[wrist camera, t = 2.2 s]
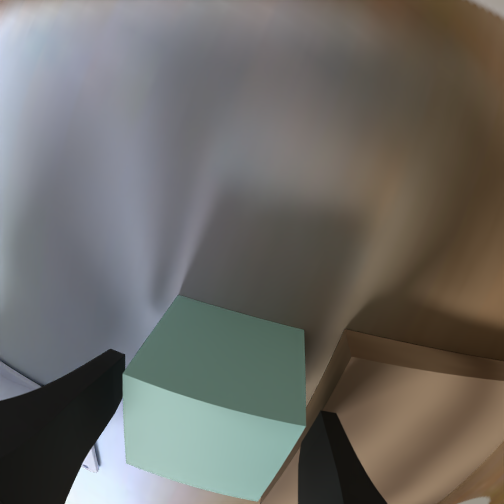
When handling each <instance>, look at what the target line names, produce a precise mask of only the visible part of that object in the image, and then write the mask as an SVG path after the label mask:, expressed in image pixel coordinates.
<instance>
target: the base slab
mask: <svg viewBox="0 0 504 504" xmlns="http://www.w3.org/2000/svg"><path fill="white" fill-rule="evenodd" d="M320 410H322V411H327V412H333V413H337V415H338V417H339V419H340V422H341V424H342V426H343V428H344V430H345V432H346V435H347V437H348V439H349V441H350V443H351V445H352V447H353V449H354V451H355V453H356V455H357V457H358V458H359V460H360V462H361V464H362V466H363V468H364V469H365V471H366V473H367V474H368V476H369V478H370V479H371V481H372V483H373V484H374V486H375V487H376V489H377V490H378V491H379V493H380V494H381V495H382V497H383V498H384V499H385V501H386V502H387V503H388V504H438V503H439V502H440V501H442V500H443V499H444V498H445V497H446V496H448V495H449V494H450V493H451V492H452V491H453V490H455V489H456V488H457V487H458V486H459V485H460V484H461V483H462V482H463V481H465V480H466V479H467V478H468V477H469V476H470V475H471V474H472V473H473V472H474V471H475V470H476V469H477V468H478V467H479V466H480V465H481V464H482V463H483V462H484V461H485V460H486V459H487V458H488V457H489V456H490V455H491V454H492V453H493V452H494V451H495V450H496V449H497V448H498V446H499V445H500V444H501V443H502V442H503V441H504V361H499V360H493V359H487V358H482V357H476V356H471V355H465V354H460V353H454V352H449V351H444V350H439V349H434V348H429V347H424V346H419V345H414V344H410V343H405V342H400V341H396V340H391V339H386V338H382V337H377V336H373V335H369V334H364V333H360V332H356V331H351V330H347V329H345V330H344V332H343V334H342V337H341V339H340V341H339V343H338V345H337V348H336V350H335V352H334V354H333V356H332V358H331V360H330V362H329V364H328V366H327V368H326V371H325V373H324V375H323V377H322V379H321V381H320V383H319V385H318V387H317V388H316V390H315V392H314V394H313V396H312V398H311V400H310V402H309V404H308V406H307V408H306V427H305V429H304V431H303V432H302V434H301V436H300V437H299V439H298V441H297V442H296V444H295V445H294V447H293V449H292V450H291V452H290V454H289V455H288V457H287V458H286V460H285V461H284V463H283V465H282V466H281V468H280V469H279V471H278V472H277V474H276V475H275V477H274V478H273V480H272V481H271V483H270V484H269V486H268V487H267V489H266V490H265V492H264V493H263V494H262V496H261V501H260V504H298V463H299V455H300V447H301V442H302V440H303V439H304V437H305V436H306V434H307V432H308V431H309V429H310V427H311V426H312V424H313V422H314V421H315V419H316V417H317V416H318V414H319V412H320Z"/></svg>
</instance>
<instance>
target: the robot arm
mask: <svg viewBox="0 0 504 504" xmlns="http://www.w3.org/2000/svg"><path fill="white" fill-rule="evenodd" d="M124 371H125V354H122V353H120V352H117V351H115V350H112V349H109V350H107V351H106V352H104V353H102V354H101V355H99V356H98V357H96V358H94V359H93V360H91V361H89V362H88V363H86V364H84V365H83V366H81V367H79V368H77V369H76V370H74V371H72V372H70V373H69V374H67V375H65V376H63V377H61V378H59V379H57V380H55V381H53V382H51V383H49V384H47V385H45V386H42V387H41V386H40V385H38V384H36V383H34V382H33V381H31V380H29V379H28V378H26V377H24V376H23V375H21V374H20V373H18V372H16V371H15V370H13V369H12V368H10V367H9V366H7V365H6V364H4V363H3V362H1V361H0V504H65V501H66V499H67V496H68V494H69V492H70V489H71V487H72V485H73V482H74V480H75V478H76V476H77V474H78V472H79V470H80V468H81V467H83V468H85V469H87V470H89V471H91V472H94V473H97V472H98V470H99V467H98V462H97V458H96V453H95V448H94V444H95V442H96V441H97V439H98V438H99V436H100V435H101V433H102V432H103V430H104V429H105V427H106V426H107V424H108V423H109V421H110V420H111V418H112V417H113V415H114V414H115V412H116V410H117V408H118V406H119V404H120V402H121V400H122V397H123V372H124ZM298 504H388V503H387V502H386V501H385V499H384V498H383V497H382V495H381V494H380V493H379V491H378V490H377V489H376V487H375V486H374V484H373V483H372V481H371V479H370V478H369V476H368V474H367V473H366V471H365V469H364V468H363V466H362V464H361V462H360V460H359V458H358V457H357V455H356V453H355V451H354V449H353V447H352V445H351V443H350V441H349V439H348V437H347V435H346V432H345V430H344V428H343V426H342V424H341V422H340V419H339V417H338V415H337V413H333V412H327V411H322V410H320V412H319V414H318V416H317V417H316V419H315V421H314V422H313V424H312V426H311V427H310V429H309V431H308V432H307V434H306V436H305V437H304V439H303V440H302V442H301V447H300V455H299V463H298Z"/></svg>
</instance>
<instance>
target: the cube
mask: <svg viewBox="0 0 504 504" xmlns="http://www.w3.org/2000/svg"><path fill="white" fill-rule="evenodd" d="M123 419H124V439H125V454H126V463H127V464H129V465H132V466H134V467H137V468H139V469H142V470H145V471H147V472H150V473H153V474H156V475H158V476H161V477H164V478H167V479H170V480H173V481H177V482H180V483H183V484H186V485H190V486H193V487H197V488H200V489H204V490H208V491H212V492H216V493H220V494H224V495H228V496H233V497H237V498H242V499H247V500H252V501H257V502H258V500H259V499H260V497H261V496H262V494H263V493H264V492H265V490H266V489H267V487H268V486H269V484H270V483H271V481H272V480H273V478H274V477H275V475H276V474H277V472H278V471H279V469H280V468H281V466H282V465H283V463H284V461H285V460H286V458H287V457H288V455H289V454H290V452H291V450H292V449H293V447H294V445H295V444H296V442H297V441H298V439H299V437H300V436H301V434H302V432H303V431H304V429H305V427H306V381H305V342H304V330H302V329H298V328H294V327H290V326H287V325H283V324H279V323H275V322H271V321H267V320H264V319H260V318H256V317H253V316H249V315H245V314H242V313H238V312H235V311H231V310H228V309H224V308H221V307H217V306H214V305H210V304H207V303H204V302H200V301H197V300H194V299H190V298H187V297H184V296H180V295H178V296H177V297H176V299H175V300H174V302H173V303H172V304H171V306H170V307H169V308H168V310H167V311H166V313H165V314H164V315H163V317H162V318H161V320H160V321H159V322H158V324H157V325H156V327H155V328H154V329H153V331H152V332H151V334H150V335H149V337H148V338H147V339H146V341H145V342H144V344H143V345H142V346H141V348H140V349H139V351H138V352H137V354H136V355H135V356H134V358H133V359H132V361H131V362H130V364H129V365H128V367H127V368H126V369H125V371H124V372H123Z"/></svg>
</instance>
